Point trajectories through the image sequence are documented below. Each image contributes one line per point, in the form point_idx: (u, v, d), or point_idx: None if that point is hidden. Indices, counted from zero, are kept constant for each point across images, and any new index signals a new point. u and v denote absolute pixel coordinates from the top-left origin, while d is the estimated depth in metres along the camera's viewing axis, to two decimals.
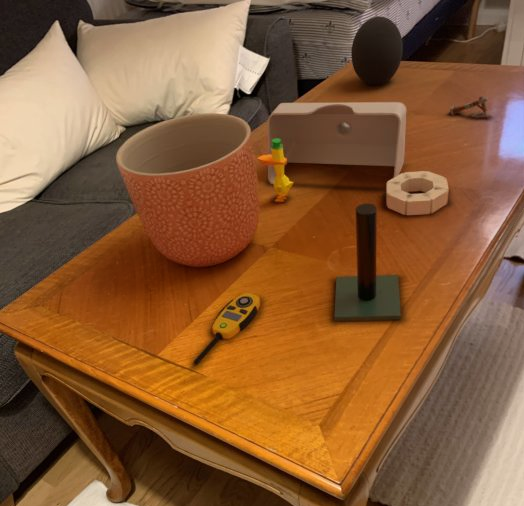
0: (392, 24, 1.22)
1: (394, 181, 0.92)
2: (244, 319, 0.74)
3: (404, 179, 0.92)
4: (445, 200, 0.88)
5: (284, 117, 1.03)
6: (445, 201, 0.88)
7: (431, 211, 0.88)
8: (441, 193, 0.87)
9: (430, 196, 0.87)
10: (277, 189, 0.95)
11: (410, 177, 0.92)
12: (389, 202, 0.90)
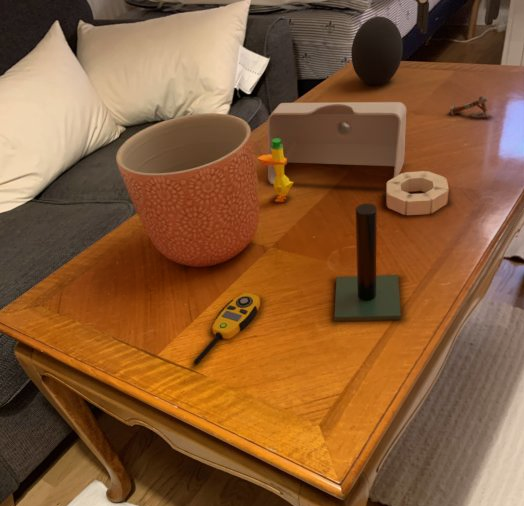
0: (392, 24, 1.22)
1: (394, 181, 0.92)
2: (244, 319, 0.74)
3: (404, 179, 0.92)
4: (445, 200, 0.88)
5: (284, 117, 1.03)
6: (445, 201, 0.88)
7: (431, 211, 0.88)
8: (441, 193, 0.87)
9: (430, 196, 0.87)
10: (277, 189, 0.95)
11: (410, 177, 0.92)
12: (389, 202, 0.90)
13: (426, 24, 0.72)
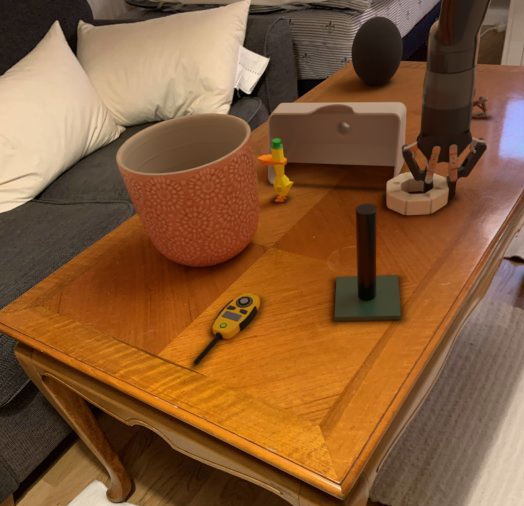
0: (392, 24, 1.22)
1: (394, 181, 0.92)
2: (244, 319, 0.74)
3: (404, 179, 0.92)
4: (445, 200, 0.88)
5: (285, 116, 1.03)
6: (445, 201, 0.88)
7: (431, 211, 0.88)
8: (441, 193, 0.87)
9: (430, 196, 0.87)
10: (277, 189, 0.95)
11: (410, 177, 0.92)
12: (389, 202, 0.90)
13: None
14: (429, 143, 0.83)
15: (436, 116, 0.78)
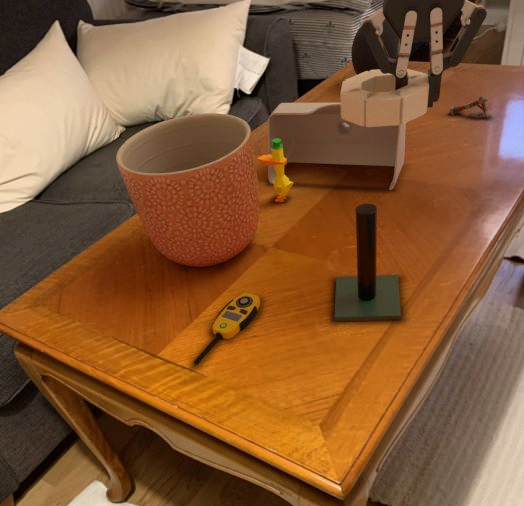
0: None
1: (354, 79, 0.64)
2: (244, 319, 0.74)
3: (368, 77, 0.64)
4: (424, 103, 0.60)
5: (285, 116, 1.03)
6: (424, 105, 0.61)
7: (402, 118, 0.60)
8: (417, 90, 0.59)
9: (400, 94, 0.59)
10: (277, 189, 0.95)
11: (377, 74, 0.64)
12: (343, 107, 0.62)
13: None
14: (401, 8, 0.55)
15: None
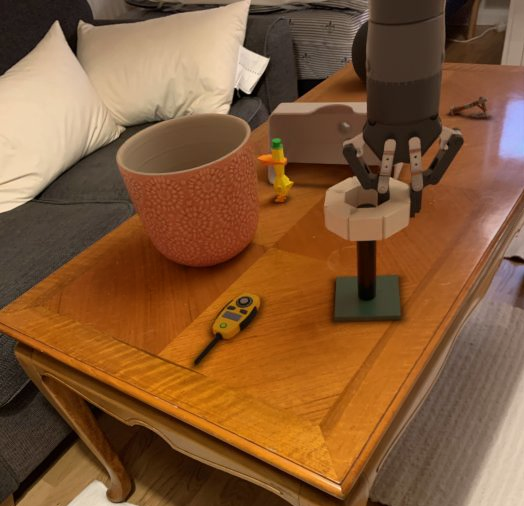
0: None
1: (337, 188, 0.65)
2: (244, 319, 0.74)
3: (351, 186, 0.65)
4: (405, 218, 0.62)
5: (285, 116, 1.03)
6: (406, 219, 0.62)
7: (384, 233, 0.61)
8: (399, 208, 0.60)
9: (382, 212, 0.60)
10: (277, 189, 0.95)
11: None
12: (327, 219, 0.64)
13: None
14: (380, 135, 0.57)
15: (385, 93, 0.52)
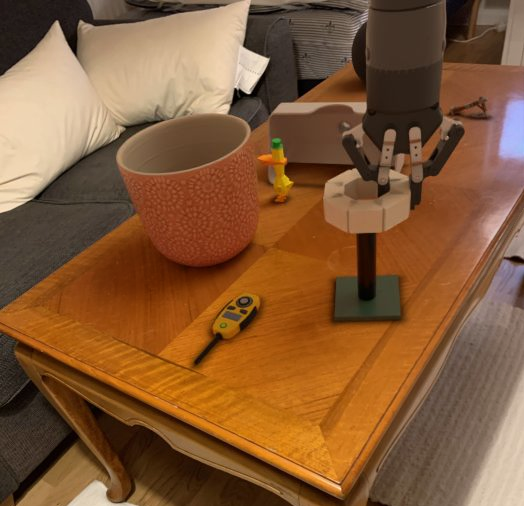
0: None
1: (337, 180, 0.65)
2: (244, 319, 0.74)
3: (351, 178, 0.64)
4: (406, 210, 0.61)
5: (285, 116, 1.03)
6: (406, 211, 0.61)
7: (384, 225, 0.60)
8: (399, 200, 0.60)
9: (382, 204, 0.60)
10: (277, 189, 0.95)
11: None
12: (326, 212, 0.63)
13: None
14: (380, 125, 0.56)
15: (385, 81, 0.51)
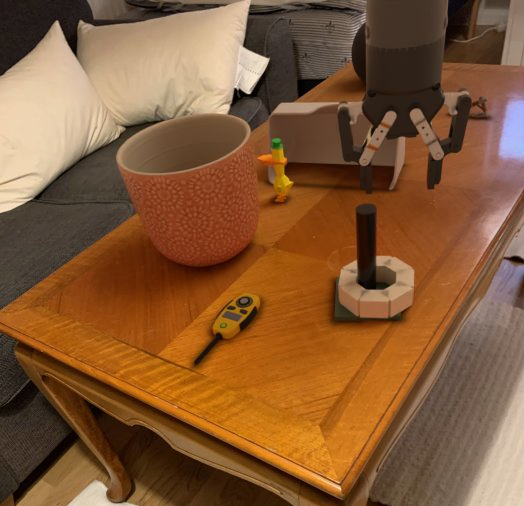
0: None
1: (351, 267, 0.74)
2: (244, 319, 0.74)
3: None
4: (409, 299, 0.70)
5: (285, 116, 1.03)
6: (409, 300, 0.71)
7: (390, 313, 0.70)
8: (403, 292, 0.69)
9: (389, 295, 0.69)
10: (277, 189, 0.95)
11: None
12: (340, 296, 0.73)
13: (370, 186, 0.61)
14: (380, 107, 0.55)
15: (385, 60, 0.50)
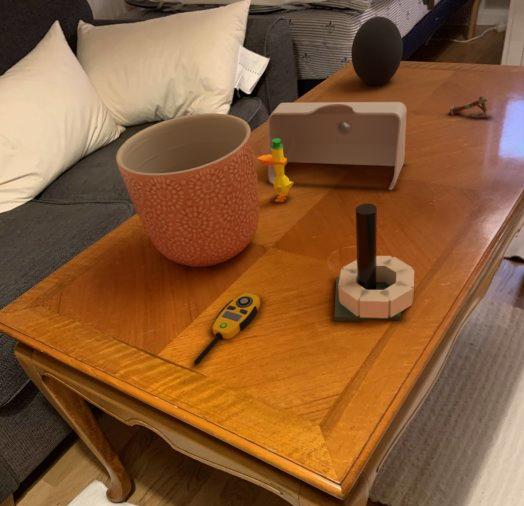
0: (392, 24, 1.22)
1: (351, 267, 0.74)
2: (244, 319, 0.74)
3: None
4: (409, 299, 0.70)
5: (285, 116, 1.03)
6: (409, 300, 0.71)
7: (390, 313, 0.70)
8: (403, 292, 0.69)
9: (389, 295, 0.69)
10: (277, 189, 0.95)
11: None
12: (340, 296, 0.73)
13: None
14: None
15: None
